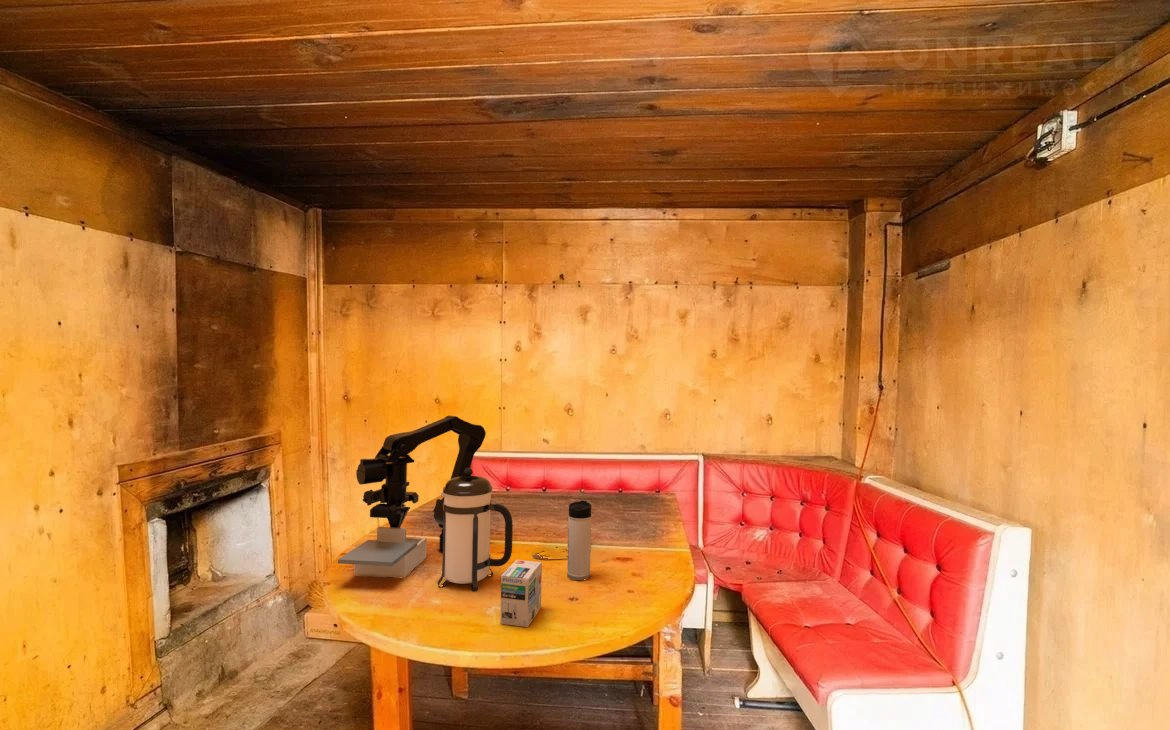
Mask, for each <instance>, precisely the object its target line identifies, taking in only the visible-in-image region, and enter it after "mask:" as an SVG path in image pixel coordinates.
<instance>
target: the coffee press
mask: <svg viewBox="0 0 1170 730" xmlns="http://www.w3.org/2000/svg"><path fill="white" fill-rule="evenodd" d="M464 474H465V475H466V476H459V477H455V478H452V479H451V478H450V479H449V480H447V482H446V483H445V486H444V487H443V488H442V491H441V492H440V497H444V502H443V510H444V516H443V528H442V529H443V552H442V563H441V565H442V567H441V569H442V570H441V576H440V578H439V580H438V581H437V582H436V583H437V586H438V587H439V588H441V587H440V586H439V585H443V586H444V587H445V586H446V585H447V584H448V583H449V582H451V583H453V584H465V585H466V584H469V585H470V589H471V591H472V592H476V591H479V581H482V580H483V579H485V578H487V577H488V578H492V577H493V576H494V572H493V570H492V569H491V567H502V566H504V565H506V564H507V563H508V562H509V561H510V559H511V557H512V553H513V535H514V533H513V528H514V527H513V526H514V525H513V518H512V514H511V512H510V510H509V509H508V508H507V507H506V506H505V505H503V504H500V503H492V498H491V497H492V492H493V486H492V485H491V482H490V480H489V479H488V478H485V477H483V476H479V475H473V469H472V468H471V467H470V468H466V469H465V470H464ZM491 511H494V512H498V513H500V514H501V515H502V516H503V519H504V552H503V556H502V557H501V558H492V557H491V551H490V549H491V513H492V512H491ZM489 572H490V574H489ZM488 575H491V576H488ZM443 579H445V580H444V581H443ZM442 581H443V582H442ZM440 583H441V584H440Z"/></svg>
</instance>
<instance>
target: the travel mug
mask: <svg viewBox="0 0 1170 730" xmlns="http://www.w3.org/2000/svg"><path fill="white" fill-rule="evenodd" d="M567 521H568V526H567V528H568V529H567V548H568V551H567V559H568V560H567V567H566V568H567V571H566V572H567V573H566V574H567V576H566V577H567V578H568V577H569V578H570V580H571V579H573V580H572V581H575V580H584V579H587V578H589V577H591V555H592V554H591V552H592V551H591V550H592V549H591V547H592V546H591V545H592V537H591V536H592V504H591V503H590V502H588V500H581V499H580V500H579V501H574V502H572V503H569V505H568V520H567ZM569 578H568V579H569ZM589 579H590V578H589ZM587 580H588V579H587ZM584 581H585V580H584Z"/></svg>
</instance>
